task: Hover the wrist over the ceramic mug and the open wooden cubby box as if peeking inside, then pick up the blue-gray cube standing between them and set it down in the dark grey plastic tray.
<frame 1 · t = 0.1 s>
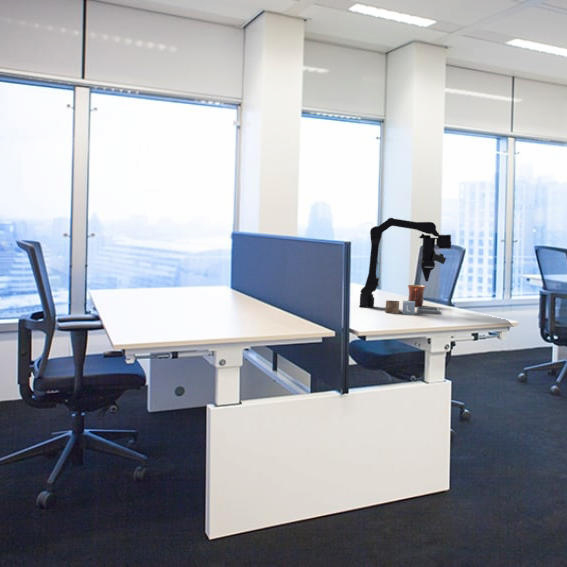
hand: (426, 280, 286), 15 cm above the table, fingers open, 9 cm apart
blue-gray cube: (408, 313, 278), on the table
mug: (415, 306, 300), on the table
tray: (427, 311, 283), on the table
open wooden cubby box: (392, 312, 279), on the table
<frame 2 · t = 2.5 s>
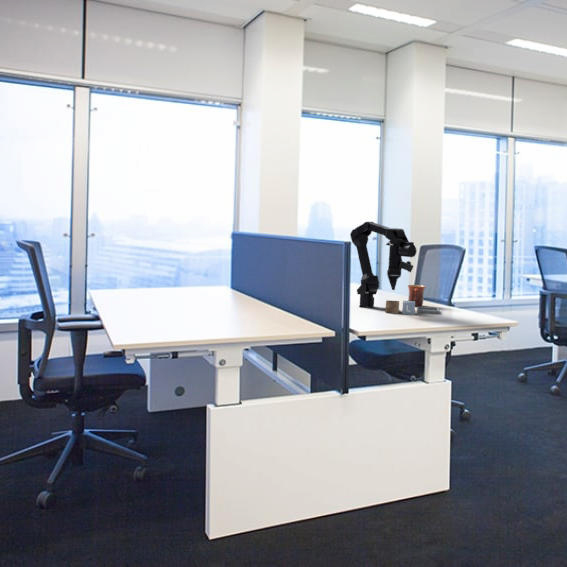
hand: (393, 288, 278), 11 cm above the table, fingers open, 9 cm apart
nothing on the table moved.
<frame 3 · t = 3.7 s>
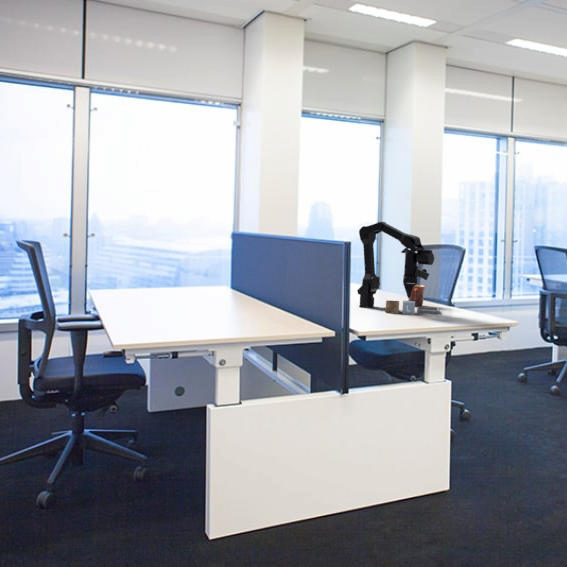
hand: (409, 296, 277), 8 cm above the table, fingers open, 9 cm apart
nothing on the table moved.
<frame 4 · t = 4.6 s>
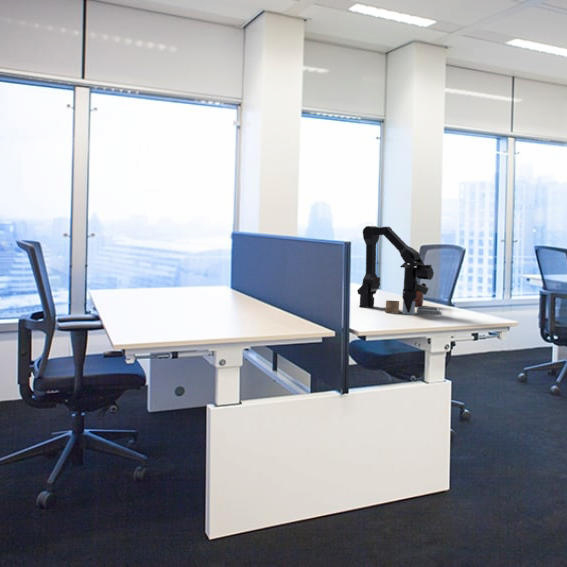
hand: (408, 310, 277), 1 cm above the table, fingers closed on blue-gray cube, 6 cm apart
blue-gray cube: (408, 313, 278), on the table, touching gripper
everything else where it was.
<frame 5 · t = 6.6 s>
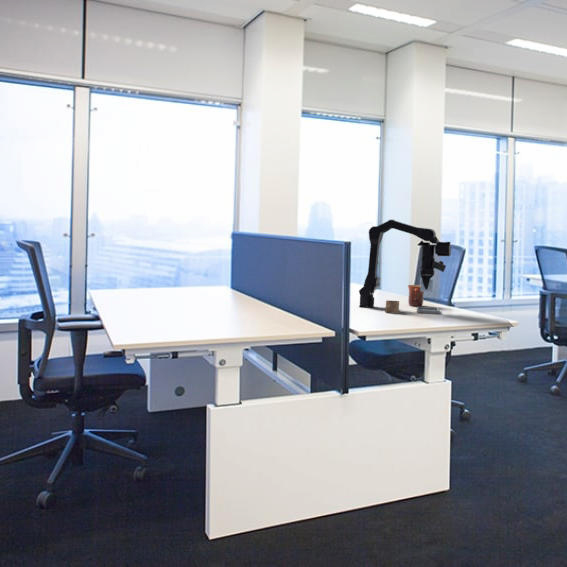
hand: (426, 288, 280), 11 cm above the table, fingers closed on blue-gray cube, 6 cm apart
blue-gray cube: (426, 290, 281), point 10 cm above the table, touching gripper
everything else where it was.
when the fingers open (3 cm above the table, at t = 8.4 s): blue-gray cube drops 2 cm, resting on tray.
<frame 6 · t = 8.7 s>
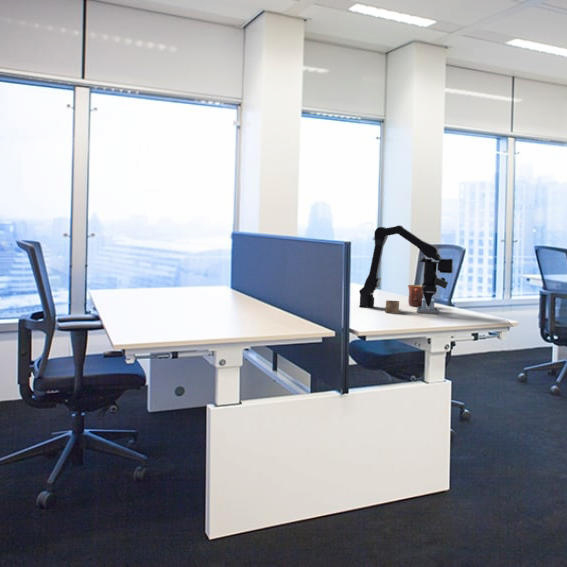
hand: (428, 304, 283), 3 cm above the table, fingers open, 9 cm apart
blue-gray cube: (427, 310, 283), resting on tray
everything else where it was.
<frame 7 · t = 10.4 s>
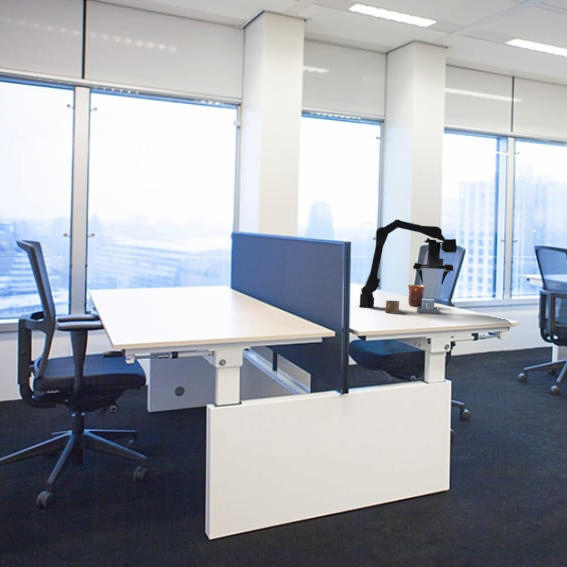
hand: (431, 284, 288), 13 cm above the table, fingers open, 9 cm apart
nothing on the table moved.
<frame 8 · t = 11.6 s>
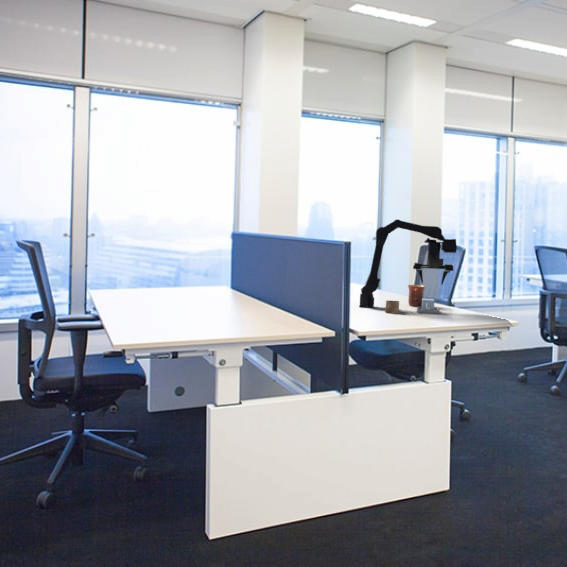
hand: (431, 284, 288), 12 cm above the table, fingers open, 9 cm apart
nothing on the table moved.
at the end: blue-gray cube 0.0 cm off-centre on the tray, point 0.5 cm above the tray's base; the gripper is holding nothing; blue-gray cube tilted 0° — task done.
